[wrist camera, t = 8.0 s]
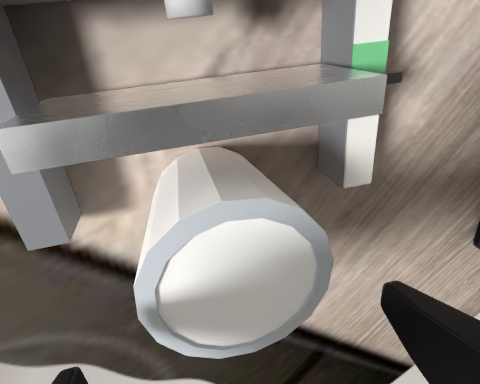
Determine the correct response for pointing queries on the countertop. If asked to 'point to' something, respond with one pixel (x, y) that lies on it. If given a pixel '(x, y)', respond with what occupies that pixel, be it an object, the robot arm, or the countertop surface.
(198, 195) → the white tapered cup
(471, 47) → the countertop surface
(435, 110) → the countertop surface
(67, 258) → the countertop surface
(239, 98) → the flat metal bar
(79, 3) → the countertop surface
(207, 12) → the frame
